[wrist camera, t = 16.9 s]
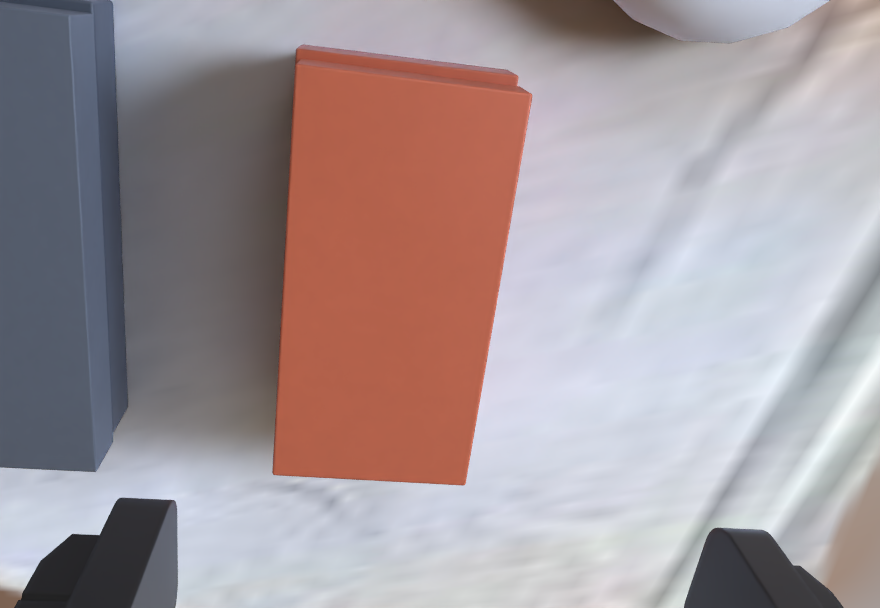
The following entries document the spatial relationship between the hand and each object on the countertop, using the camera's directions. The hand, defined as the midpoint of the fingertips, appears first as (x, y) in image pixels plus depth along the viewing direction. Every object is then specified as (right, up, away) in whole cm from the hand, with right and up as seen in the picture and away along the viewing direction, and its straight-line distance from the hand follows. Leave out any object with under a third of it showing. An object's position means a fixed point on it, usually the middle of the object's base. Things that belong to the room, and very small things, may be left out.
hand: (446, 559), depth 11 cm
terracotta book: (-2, +5, +12) cm, 13 cm away
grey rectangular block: (-13, +7, +13) cm, 20 cm away
